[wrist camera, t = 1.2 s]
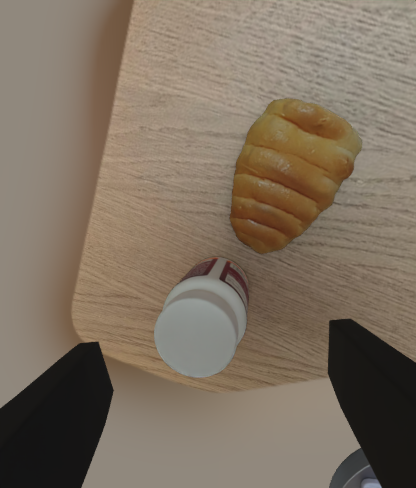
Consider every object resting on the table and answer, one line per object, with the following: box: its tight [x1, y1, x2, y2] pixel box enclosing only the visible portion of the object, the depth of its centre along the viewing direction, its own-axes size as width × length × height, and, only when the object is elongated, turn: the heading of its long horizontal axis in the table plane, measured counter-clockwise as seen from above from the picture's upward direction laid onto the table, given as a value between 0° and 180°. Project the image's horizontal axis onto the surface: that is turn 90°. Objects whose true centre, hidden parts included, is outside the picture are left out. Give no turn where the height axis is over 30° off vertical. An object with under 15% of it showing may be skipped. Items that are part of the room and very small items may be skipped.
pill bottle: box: [154, 257, 249, 378], centre depth 17 cm, size 5×5×8 cm
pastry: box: [230, 98, 362, 254], centre depth 18 cm, size 9×7×4 cm
